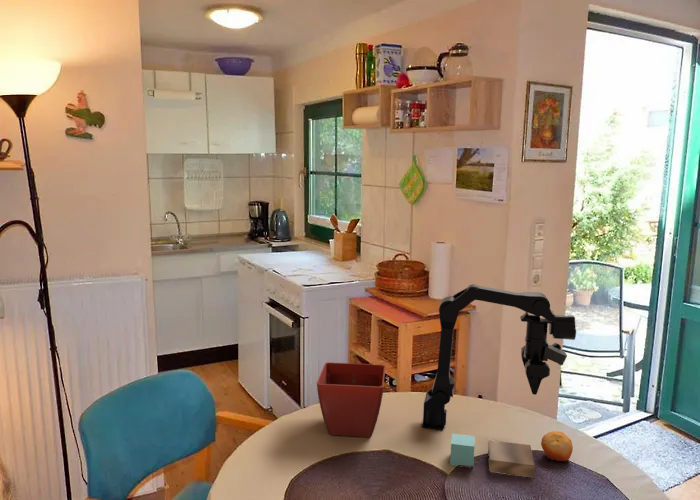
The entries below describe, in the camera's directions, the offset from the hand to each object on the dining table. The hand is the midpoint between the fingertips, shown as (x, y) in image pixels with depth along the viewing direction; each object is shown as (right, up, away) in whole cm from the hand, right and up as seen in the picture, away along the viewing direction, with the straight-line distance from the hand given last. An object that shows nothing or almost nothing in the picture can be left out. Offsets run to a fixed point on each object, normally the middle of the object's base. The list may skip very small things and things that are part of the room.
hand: (532, 388), depth 163 cm
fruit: (+3, -17, -11) cm, 20 cm away
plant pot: (-53, -13, +5) cm, 55 cm away
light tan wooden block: (-11, -17, -15) cm, 25 cm away
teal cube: (-23, -16, -13) cm, 31 cm away
